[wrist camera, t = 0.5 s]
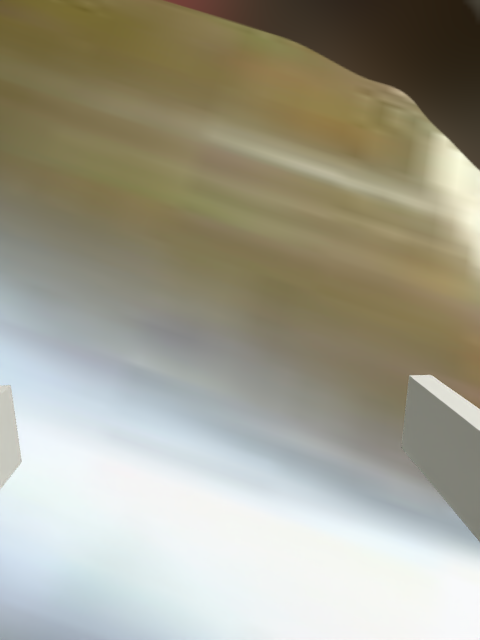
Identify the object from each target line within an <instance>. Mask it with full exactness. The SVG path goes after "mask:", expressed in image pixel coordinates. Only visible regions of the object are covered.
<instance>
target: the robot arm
mask: <svg viewBox="0 0 480 640" xmlns="http://www.w3.org/2000/svg"><path fill="white" fill-rule="evenodd" d="M401 448H402V449H403V450H404V452H405V453H406V454H407V455H408V456H409V458H410V459H411V460H412V461H413V462H414V464H415V465H416V466H417V467H418V468H419V470H420V471H421V472H422V473H423V474H424V476H425V477H426V478H427V479H428V480H429V482H430V483H431V484H432V485H433V486H434V488H435V489H436V490H437V491H438V492H439V494H440V495H441V496H442V497H443V498H444V500H445V501H446V502H447V503H448V504H449V506H450V507H451V508H452V509H453V510H454V512H455V513H456V514H457V515H458V516H459V518H460V519H461V520H462V521H463V522H464V524H465V525H466V526H467V527H468V528H469V530H470V531H471V532H472V533H473V534H474V536H475V537H476V538H477V539H478V540H479V542H480V409H478V408H477V407H476V406H474V405H473V404H471V403H470V402H469V401H467V400H466V399H464V398H463V397H461V396H460V395H459V394H457V393H456V392H454V391H453V390H452V389H450V388H449V387H447V386H446V385H444V384H443V383H442V382H440V381H439V380H437V379H436V378H435V377H433V376H432V375H411V376H409V383H408V392H407V401H406V410H405V419H404V429H403V438H402V447H401ZM21 462H22V460H21V453H20V446H19V439H18V432H17V425H16V418H15V412H14V405H13V398H12V391H11V385H6V386H0V489H1V488H2V487H3V485H4V484H5V483H6V481H7V480H8V479H9V478H10V476H11V475H12V474H13V472H14V471H15V470H16V469H17V467H18V466H19V465H20V464H21Z"/></svg>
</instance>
